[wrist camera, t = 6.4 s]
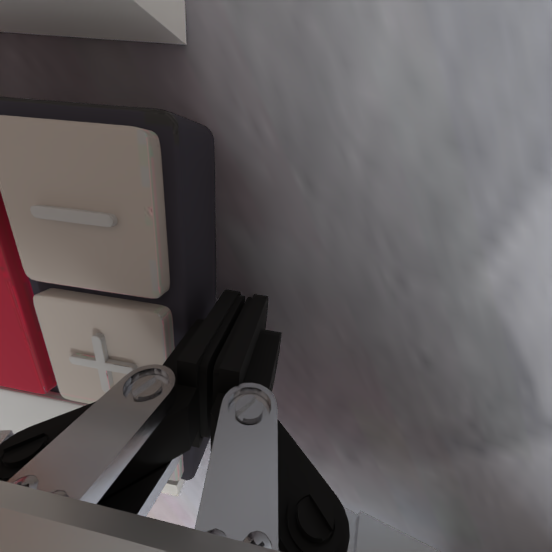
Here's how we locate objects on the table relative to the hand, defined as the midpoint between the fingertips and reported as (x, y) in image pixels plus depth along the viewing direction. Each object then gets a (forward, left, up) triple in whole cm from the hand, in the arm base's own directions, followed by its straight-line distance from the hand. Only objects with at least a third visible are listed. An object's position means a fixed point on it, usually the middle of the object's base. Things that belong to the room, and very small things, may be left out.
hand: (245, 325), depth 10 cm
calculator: (-1, +7, -2) cm, 8 cm away
